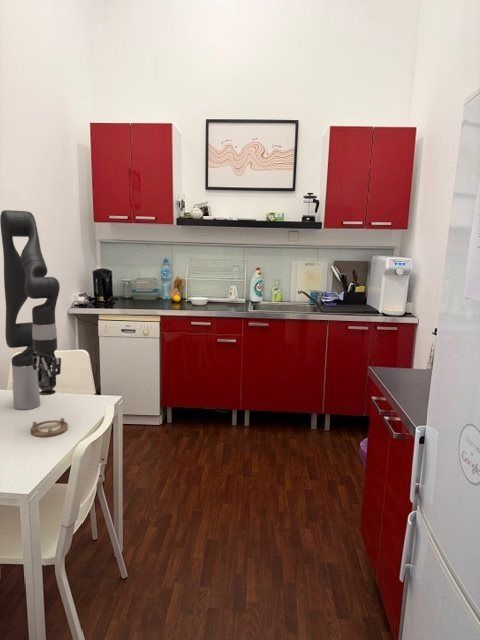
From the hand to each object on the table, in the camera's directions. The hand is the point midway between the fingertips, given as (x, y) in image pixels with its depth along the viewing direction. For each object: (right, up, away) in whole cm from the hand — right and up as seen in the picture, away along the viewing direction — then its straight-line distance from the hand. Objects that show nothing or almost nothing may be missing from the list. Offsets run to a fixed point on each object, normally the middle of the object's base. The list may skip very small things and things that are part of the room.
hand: (47, 384), depth 155 cm
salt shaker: (0, -3, +1) cm, 3 cm away
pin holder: (0, -16, +3) cm, 17 cm away
